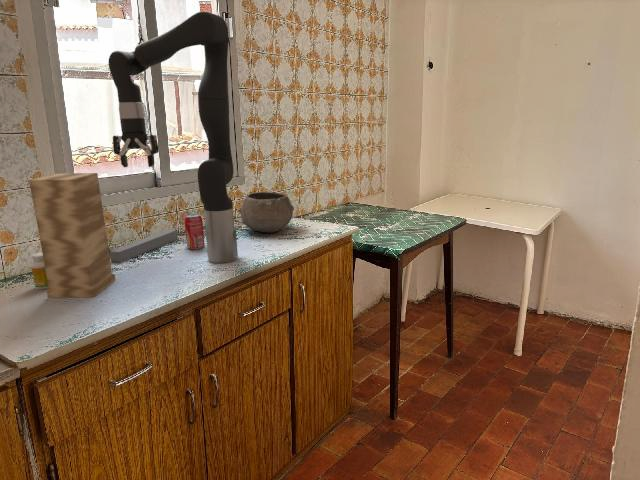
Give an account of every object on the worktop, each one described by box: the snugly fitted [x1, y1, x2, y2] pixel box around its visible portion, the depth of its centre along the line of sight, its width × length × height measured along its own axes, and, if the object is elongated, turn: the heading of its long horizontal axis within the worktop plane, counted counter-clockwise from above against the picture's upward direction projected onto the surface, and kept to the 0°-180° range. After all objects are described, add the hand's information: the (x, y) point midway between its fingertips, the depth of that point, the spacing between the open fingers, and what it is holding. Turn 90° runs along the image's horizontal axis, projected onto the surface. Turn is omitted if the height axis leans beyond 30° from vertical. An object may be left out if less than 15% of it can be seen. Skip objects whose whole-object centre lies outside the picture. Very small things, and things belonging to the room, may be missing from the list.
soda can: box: [183, 213, 206, 250], centre depth 175 cm, size 6×6×12 cm
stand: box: [28, 172, 116, 298], centre depth 134 cm, size 13×13×32 cm
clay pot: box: [238, 191, 295, 234], centre depth 194 cm, size 21×21×15 cm
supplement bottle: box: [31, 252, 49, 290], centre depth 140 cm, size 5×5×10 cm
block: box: [109, 228, 178, 264], centre depth 175 cm, size 4×30×4 cm, turn 158°
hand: (138, 166), depth 163 cm, fingers open, 8 cm apart
